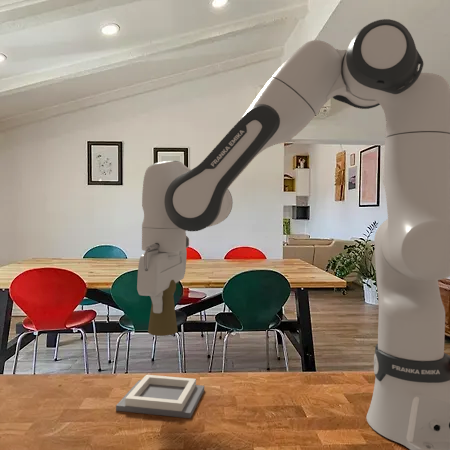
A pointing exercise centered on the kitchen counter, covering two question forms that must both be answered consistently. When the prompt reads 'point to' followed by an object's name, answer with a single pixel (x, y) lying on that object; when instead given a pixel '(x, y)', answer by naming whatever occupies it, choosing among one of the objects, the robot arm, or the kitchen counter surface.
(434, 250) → the robot arm
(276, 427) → the kitchen counter surface
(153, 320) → the olive knobbed peg
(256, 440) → the kitchen counter surface
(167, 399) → the notch board
